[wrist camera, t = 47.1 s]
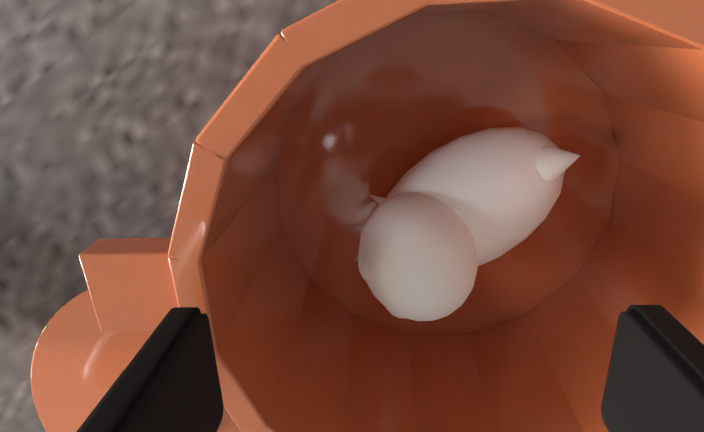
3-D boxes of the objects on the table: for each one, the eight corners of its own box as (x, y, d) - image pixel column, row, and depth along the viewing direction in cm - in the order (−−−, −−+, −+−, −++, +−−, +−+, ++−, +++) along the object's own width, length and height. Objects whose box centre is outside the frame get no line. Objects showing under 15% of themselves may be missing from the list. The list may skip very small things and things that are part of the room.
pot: (663, 341, 21) (837, 534, 13) (224, 340, 22) (136, 512, 14) (754, -28, 15) (1155, -89, 7) (164, 4, 17) (-32, -17, 9)
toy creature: (333, 201, 19) (299, 269, 13) (512, 80, 16) (571, 95, 11) (397, 287, 20) (393, 387, 14) (575, 184, 17) (661, 251, 11)
